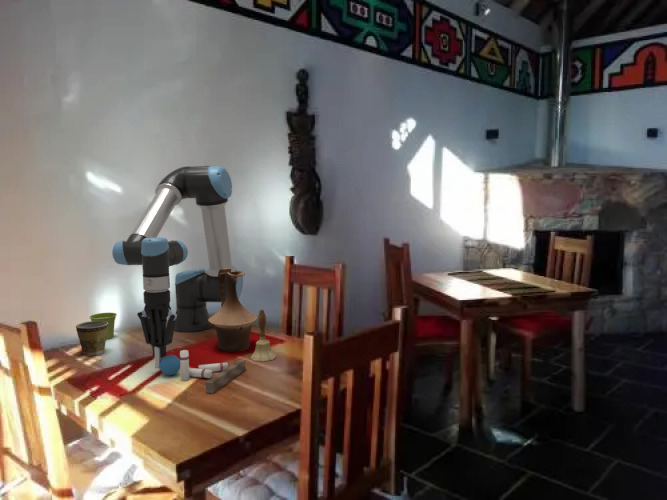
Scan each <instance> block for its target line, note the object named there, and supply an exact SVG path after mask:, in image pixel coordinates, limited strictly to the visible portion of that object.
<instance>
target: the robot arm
mask: <svg viewBox="0 0 667 500" xmlns="http://www.w3.org/2000/svg"><path fill="white" fill-rule="evenodd" d="M232 193H233V183H232V179H231V175H230V173H229V172H228V170H227V169H226V168H225V167H223V166H219V165H218V166H215V165H202V166H201V165H198V166H197V165H196V166H194V165H193V166H188V165H187V166H182V167H179V168H176V169H175V170H173V171H171V172H169V173H168V174H167V175H165V176H164V178H163V179H161V181H160V182H159V183H158V184H157V186H156V188H155V195H154V196H153V198H152V199H151V202H150V203H149V204H148V206H147V207H146V209H145V211H144V212H143V214H142V215H141V217H140V219H139V220H138V222H137V224H136V226H135V227H134V228H133V230H132V232H131V233H130V235H129V236H128V238H127V240H126V241H125V240H120V241H117V242H115V243H114V244H113V247H112V258H113V261H114V262H115V263H116V264H117V265H122V266H142V289H143V290H144V291H143V303H144V307H143V310H142V311H139V312H137V313H136V314H137V317H138V319H139V320H140V323H141V327H142V331H143V336H144V339H145V343H146V345H151V347H152V356H153V357H154V366H155V367H154V368H155V369H158V370H160V362H161V360H162V359H163V358H164V357H165V356H167V346H168V345H171V344H172V342H173V338H174V333H175V331H176V332H183V333H191V332H192V333H193V332H199V331H205V330H207V329H210V328H211V327H212V326H213V324H212V323H210V322H209V321H208V319H209V318H210V317H211V315H210V313H209V309H208V308H207V307H208V306H207V303H219V304H221V303H222V302H221V294H220V288H219V283H218V272H219V270H220V269H222V268H231V272H235V271H238V270H237V267H236V265H234V264H233V263H232V254H231V249H230V248H231V247H230V238H229V232H228V225H227V223H228V222H227V216H226V215H227V214H226V208H225V206H226V204H227V203H228V202H229V198H230V197H231V196H232ZM186 199H194V200H195V204H196V206H197V207H199V208H200V210H201V215H202V216H201V218H202V223H203V225H202V226H203V230H204V237H205V244H206V252H207V259H208V260H207V261H208V265H209V266H208V268H207V269H205V268H194V269H188V270H183V271H179V272H177V273H176V274H175V276H174V277H175V279H174V281H175V282H174V286H175V303H176V308H175V309H176V310H175V312H173V311H172V308H171V305H170V304H171V290H170V288H171V283H170V282H171V281H170V279H171V278H170V267H172V266H177V265H179V264H182V263H183V262H184V261H185V260H186V259H187V257H188V255H189V254H188V253H189V251H188V247H187V245H186V244H185V243H184V242H183V241H181V240H169V241H168V239H167V238H166V237H160V236H159V237H158V235H159V234H160V232H161V230H162V229H163V227H164V225H165V223H166V222H167V220H168V219H169V217H170V215H171V213H172V211H173V210H174V208H175V206H178V205H179V204H181V201H182V200H186ZM223 285H224V293H225V299H226V285H225V282H224V281H223ZM243 287H244V276H240V277H238V279H237V281H236V292H237V297H238V299H240V298H241V295H242V292H243Z"/></svg>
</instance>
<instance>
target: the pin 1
mask: <svg viewBox="0 0 667 500" xmlns="http://www.w3.org/2000/svg"><path fill="white" fill-rule="evenodd" d="M179 360H180V366H181V367H180V380H181V381H182V382H185V381H190V377H191V376H190V375H189V368H190V353H189V349H188V350H187V349H183V350H180V351H179Z"/></svg>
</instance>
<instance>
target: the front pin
mask: <svg viewBox="0 0 667 500" xmlns="http://www.w3.org/2000/svg"><path fill="white" fill-rule="evenodd" d="M189 375H190V377H193V378H203V379H211V378H212V377H213V372H212V370H208V369H199V368H194V367H189Z"/></svg>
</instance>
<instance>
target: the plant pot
mask: <svg viewBox="0 0 667 500" xmlns="http://www.w3.org/2000/svg"><path fill="white" fill-rule="evenodd" d="M117 315H118V314H117V313H116V312H99V313H94V314H91V315H90V316H89V319H90V320H91V321H106V322H108V329H107V335H106V340H111V339H112V338H113V337H114V335H115V323H116V322H115V321H116V317H117Z"/></svg>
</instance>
